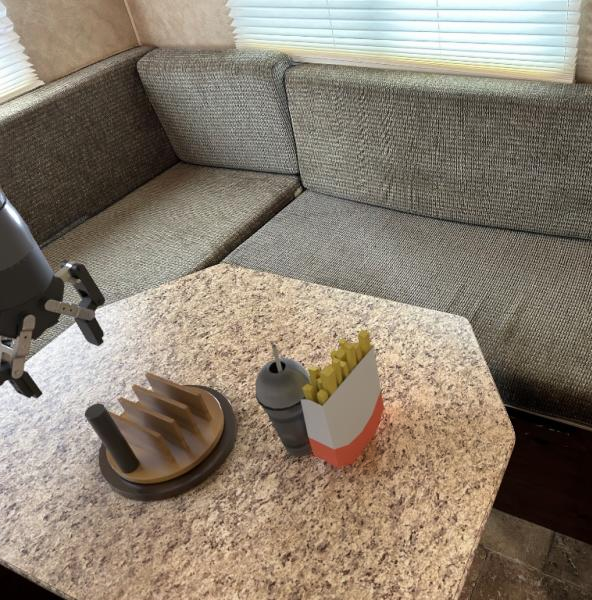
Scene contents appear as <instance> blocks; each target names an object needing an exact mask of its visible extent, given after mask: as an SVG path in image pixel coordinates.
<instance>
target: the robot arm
mask: <svg viewBox="0 0 592 600" xmlns="http://www.w3.org/2000/svg"><path fill="white" fill-rule="evenodd" d="M65 283H66V284H69V285H72V286H73V288H74V290H75V292H77V294H78V296H79V297H80V299H81V300H80V302H79V303H78V304H76V303H72V302H68V301H66V300H64V294H65ZM105 302H106V298H105V296H104V295H103V293H102V291H101V289H100V288H99V286H98V285H97V284H96V281H95V280H94V278H93V277H92V275H91V274H90V272H89V270H88V268H87V267H86V265H84V264H83V263H79V262H76V261H73V260H70V259H63V260H62V261H61V262H60V269H59V270H57V271H56V272H55V273H54V271H53V269H52V267H51V266H50V263H49V262H48V260H47V258H46V257H45V256H44V253H43V252H42V250H41V248H40V247H39V245H38V243H37V241H36V240H35V238H34V237H33V235H32V232H31V229H30V226H29V225H27V223H26V222H25V220H24V219H23V218H22V216H21V214H20V213H19V212H18V211H17V209H16V208H15V207H14V206H13V204H12V203H11V202H10V200H9V198H8V197H7V196H6V194H5V192H4V190H3V189H2V187H1V186H0V387H1V386H3V385H4V384H5V383H6V382H7V381H8V383H9V384H10V386H11V387H12V389H14V391H16V393H17V394H19V395H21V396H23V397H26V398H28V399H31V398H34V399H38V398H40V397H41V396H42V395H43V392H42V390H41V389H40V388H39V386H38V385H37V383H36V382H35V381H34V380H35V379H33V378H32V376H31V375H30V373H29V372H28V371H26V370H25V365H26V358H27V357H28V356H29V355H30V350H31V343H32V340H33V341H36V340H38V339H39V338H40V337H41V336H42V335H43V334H44V333H45V332H46V331H47V330H48V329H50V328H52V327H54V326H56V325H57V324H58V323H59V322H60V320H59V319H60V318H61V316H62V315H64V316H68V317H72V318H73V319H74V322H75V324H76V325H77V327H78V329H79V330H80V332H81V333H82V335H83V337H84V339H85V340H86V341H87V342H88V343H89V344H90V345H93V346H96V347H100V346H101V345H102V344H104V338H103V337H105V334H104V330H103V328H102V326H101V325H100V323H99V321H98V319H97V318H96V310H97V309H98V308H99V307H102V306H104V305H105ZM14 340H15V343H14Z"/></svg>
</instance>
